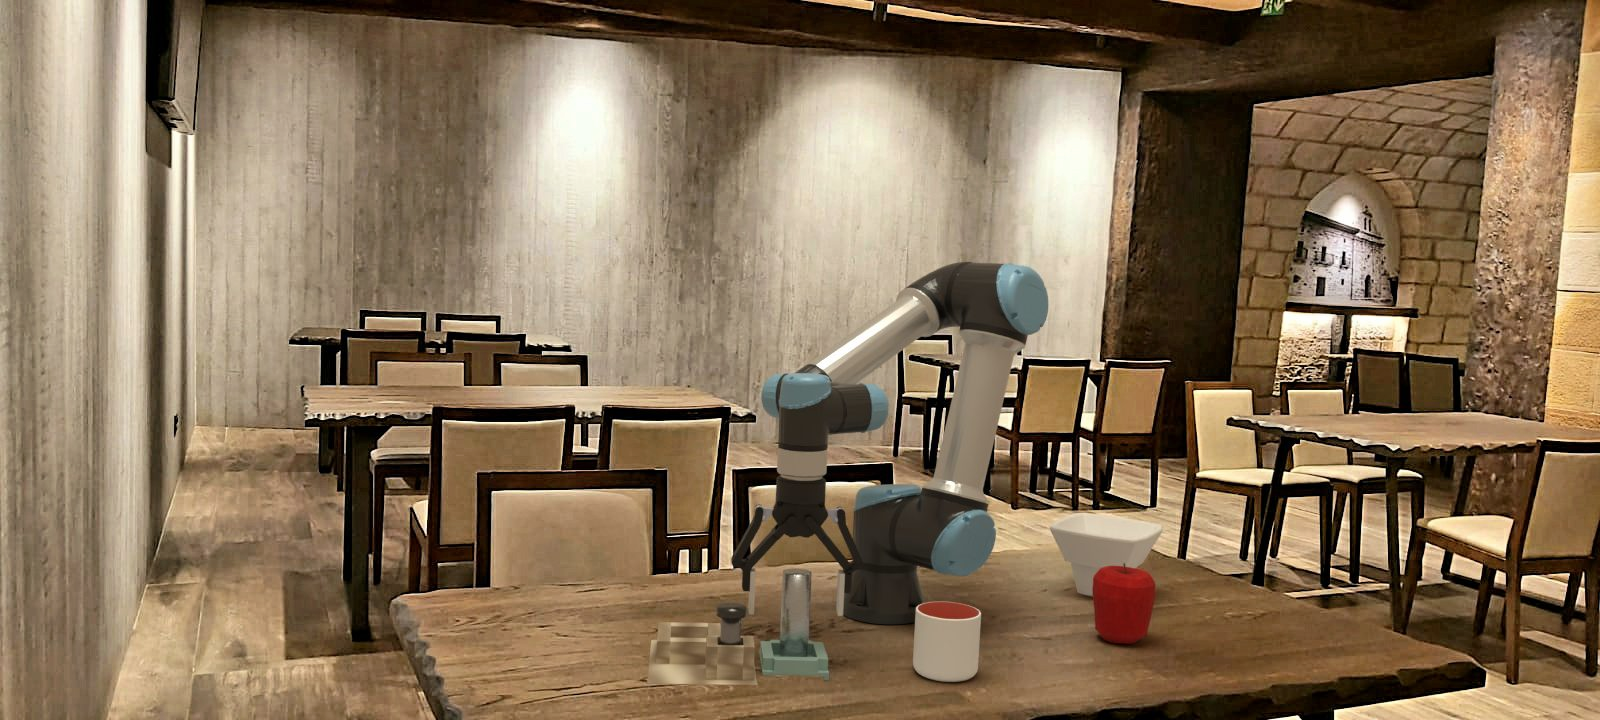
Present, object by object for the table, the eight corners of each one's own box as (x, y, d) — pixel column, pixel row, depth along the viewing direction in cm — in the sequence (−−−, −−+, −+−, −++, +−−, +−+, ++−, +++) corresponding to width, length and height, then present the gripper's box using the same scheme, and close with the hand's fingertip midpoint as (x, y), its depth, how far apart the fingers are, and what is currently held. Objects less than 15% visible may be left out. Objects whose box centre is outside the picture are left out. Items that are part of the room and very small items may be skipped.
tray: (821, 658, 202) (822, 640, 202) (828, 680, 192) (829, 660, 192) (758, 657, 201) (759, 639, 201) (762, 679, 191) (763, 660, 191)
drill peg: (806, 657, 199) (810, 568, 198) (808, 666, 195) (812, 576, 193) (778, 656, 199) (781, 568, 197) (780, 665, 194) (783, 575, 193)
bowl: (1165, 594, 250) (1170, 524, 249) (1133, 616, 234) (1138, 541, 233) (1073, 578, 260) (1078, 510, 259) (1037, 597, 244) (1041, 526, 243)
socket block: (750, 646, 207) (752, 611, 207) (757, 690, 187) (758, 651, 186) (651, 644, 206) (652, 609, 205) (646, 688, 185) (648, 649, 185)
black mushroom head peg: (743, 662, 193) (745, 603, 192) (744, 672, 189) (747, 611, 188) (714, 662, 193) (716, 602, 192) (714, 672, 189) (717, 611, 188)
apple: (1102, 650, 213) (1107, 570, 212) (1079, 631, 223) (1084, 555, 222) (1162, 650, 215) (1168, 570, 213) (1137, 631, 225) (1142, 555, 223)
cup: (907, 662, 202) (910, 600, 202) (969, 663, 203) (973, 601, 202) (918, 684, 193) (922, 619, 192) (983, 685, 193) (987, 620, 193)
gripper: (879, 473, 199) (872, 607, 201) (718, 469, 197) (713, 604, 199) (886, 482, 192) (879, 621, 193) (719, 478, 189) (714, 618, 191)
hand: (795, 612), depth 196 cm, fingers open, 13 cm apart
